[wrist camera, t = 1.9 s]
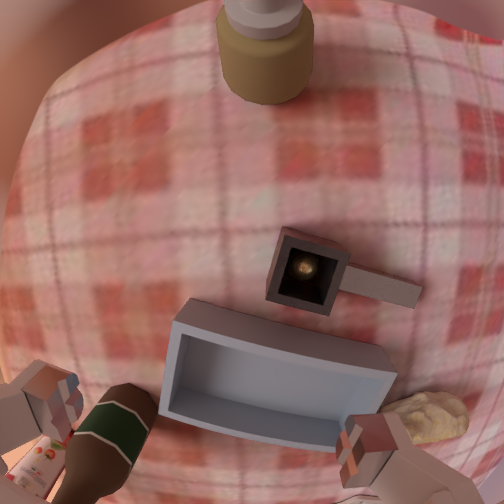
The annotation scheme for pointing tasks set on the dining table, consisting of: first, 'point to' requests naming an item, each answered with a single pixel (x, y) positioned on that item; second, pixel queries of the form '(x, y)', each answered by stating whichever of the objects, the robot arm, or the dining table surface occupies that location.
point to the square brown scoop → (331, 277)
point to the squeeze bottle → (266, 48)
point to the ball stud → (302, 264)
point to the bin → (268, 378)
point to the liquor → (40, 466)
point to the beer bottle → (106, 445)
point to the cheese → (431, 416)
